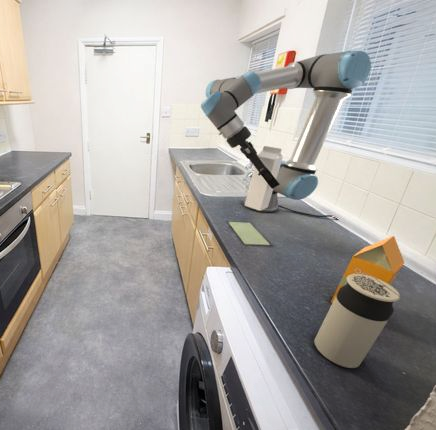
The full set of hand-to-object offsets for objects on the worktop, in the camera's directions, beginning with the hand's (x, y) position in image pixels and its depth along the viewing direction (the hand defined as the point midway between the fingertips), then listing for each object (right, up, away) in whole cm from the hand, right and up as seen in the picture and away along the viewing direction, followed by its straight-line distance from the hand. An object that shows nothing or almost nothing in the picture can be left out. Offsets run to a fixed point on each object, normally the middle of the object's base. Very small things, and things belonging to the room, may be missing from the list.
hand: (273, 182), depth 94 cm
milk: (-3, -9, +5) cm, 11 cm away
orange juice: (+7, -36, -24) cm, 43 cm away
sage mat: (-4, -19, +11) cm, 22 cm away
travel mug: (-9, -41, -37) cm, 56 cm away
